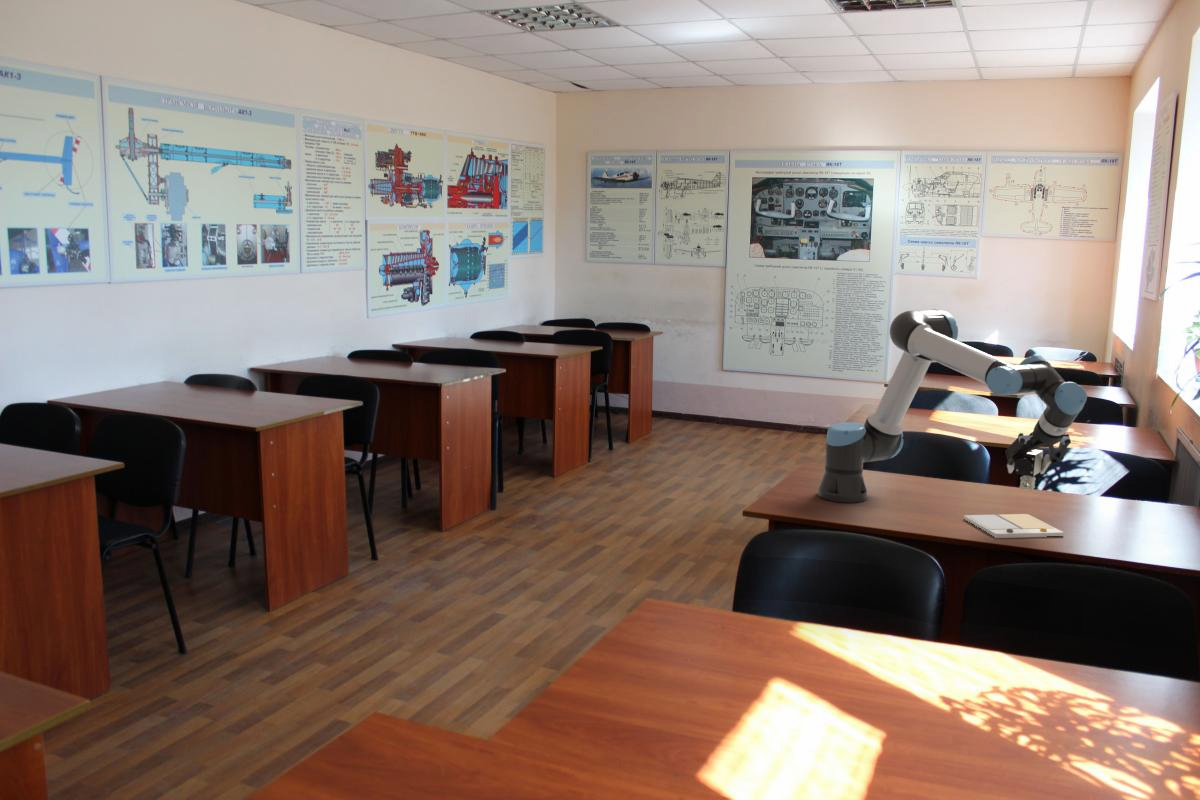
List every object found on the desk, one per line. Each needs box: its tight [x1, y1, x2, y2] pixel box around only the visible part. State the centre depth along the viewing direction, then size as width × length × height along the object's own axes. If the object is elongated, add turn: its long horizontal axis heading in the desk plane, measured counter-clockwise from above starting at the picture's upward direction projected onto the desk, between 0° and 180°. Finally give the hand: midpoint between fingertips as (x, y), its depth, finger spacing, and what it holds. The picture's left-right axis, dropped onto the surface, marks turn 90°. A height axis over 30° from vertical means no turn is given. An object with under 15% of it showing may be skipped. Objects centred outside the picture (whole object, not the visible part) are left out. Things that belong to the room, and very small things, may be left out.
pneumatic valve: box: [1013, 448, 1044, 491], centre depth 272 cm, size 6×12×12 cm, turn 141°
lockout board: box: [963, 513, 1065, 539], centre depth 272 cm, size 18×20×2 cm
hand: (1025, 469), depth 276 cm, fingers closed on pneumatic valve, 8 cm apart
